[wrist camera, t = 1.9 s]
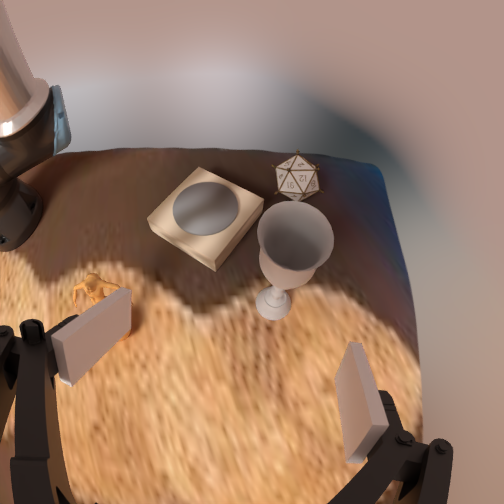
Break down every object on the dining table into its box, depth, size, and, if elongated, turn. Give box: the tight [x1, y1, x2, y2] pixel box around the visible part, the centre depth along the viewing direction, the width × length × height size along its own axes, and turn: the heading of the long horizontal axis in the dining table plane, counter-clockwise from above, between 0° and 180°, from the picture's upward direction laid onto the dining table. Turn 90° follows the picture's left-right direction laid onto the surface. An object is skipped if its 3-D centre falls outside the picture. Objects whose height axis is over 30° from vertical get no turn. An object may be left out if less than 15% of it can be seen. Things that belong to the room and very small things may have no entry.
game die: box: [271, 150, 324, 202], centre depth 47 cm, size 9×8×10 cm
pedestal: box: [147, 167, 264, 272], centre depth 45 cm, size 13×13×4 cm
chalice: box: [256, 201, 334, 320], centre depth 33 cm, size 7×7×18 cm
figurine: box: [73, 273, 133, 341], centre depth 33 cm, size 8×6×12 cm
